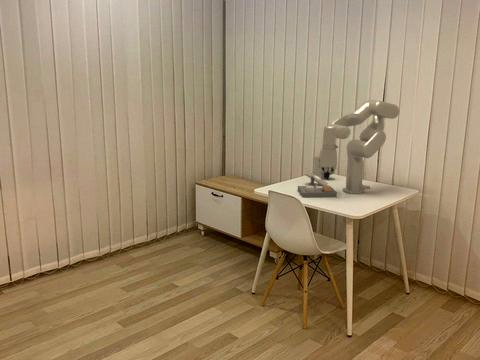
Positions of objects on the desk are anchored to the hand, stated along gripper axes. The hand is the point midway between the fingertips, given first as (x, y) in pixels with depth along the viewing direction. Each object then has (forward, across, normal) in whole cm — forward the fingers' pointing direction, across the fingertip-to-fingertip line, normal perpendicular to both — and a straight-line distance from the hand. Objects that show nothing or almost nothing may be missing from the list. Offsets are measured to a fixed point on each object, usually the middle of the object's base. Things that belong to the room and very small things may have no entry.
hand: (326, 178), depth 275 cm
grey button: (+8, +9, 0) cm, 12 cm away
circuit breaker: (+10, -10, -45) cm, 47 cm away
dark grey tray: (+10, +4, -4) cm, 12 cm away
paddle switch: (+7, +6, -9) cm, 13 cm away
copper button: (+8, -1, 0) cm, 8 cm away
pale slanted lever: (+10, -1, -27) cm, 29 cm away
